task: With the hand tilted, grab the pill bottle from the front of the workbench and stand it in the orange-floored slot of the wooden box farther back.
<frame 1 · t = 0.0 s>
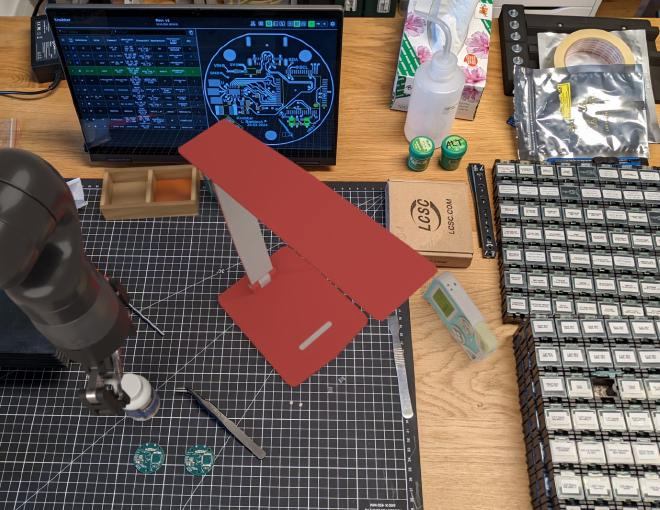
hand: (125, 367, 74), 27 cm above the table, tool pointing down, fingers open, 8 cm apart
pill bottle: (144, 405, 100), on the table
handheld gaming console: (453, 329, 107), on the table
wooden box: (154, 198, 119), on the table
puzzle: (227, 190, 121), on the table
desk lamp: (301, 323, 107), on the table
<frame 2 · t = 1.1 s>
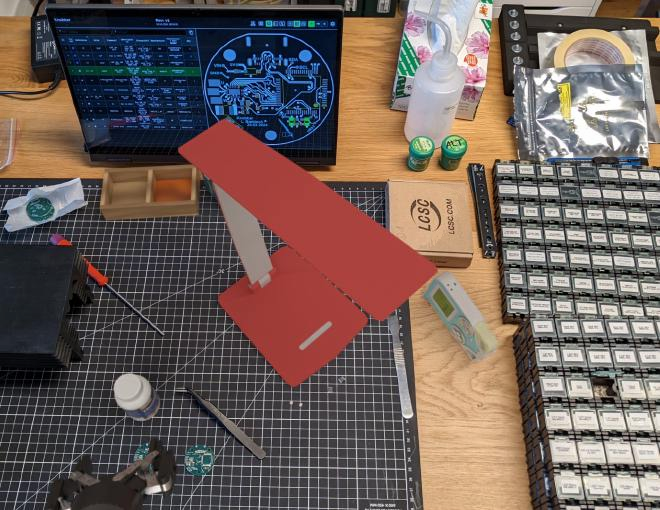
hand: (122, 452, 79), 17 cm above the table, tool tilted 45°, fingers open, 8 cm apart
nothing on the table moved.
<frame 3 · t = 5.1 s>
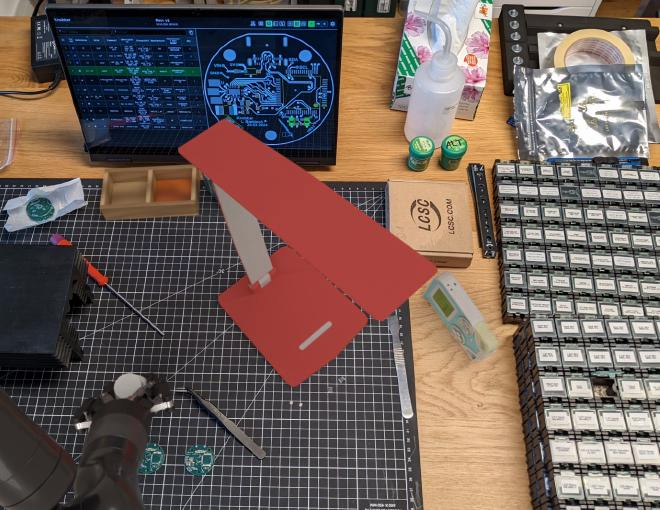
hand: (132, 382, 95), 6 cm above the table, tool tilted 45°, fingers closed on pill bottle, 5 cm apart
pill bottle: (144, 405, 100), on the table, touching gripper
everything else where it was.
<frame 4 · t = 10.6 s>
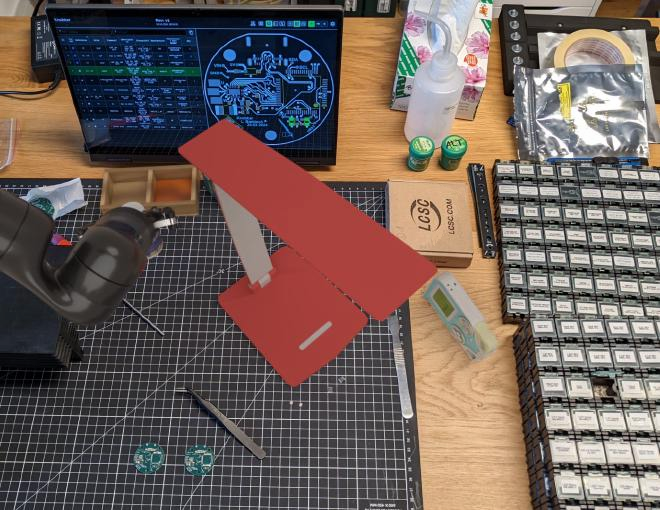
hand: (136, 216, 96), 18 cm above the table, tool tilted 45°, fingers closed on pill bottle, 5 cm apart
pill bottle: (147, 246, 101), point 12 cm above the table, touching gripper
everything else where it was.
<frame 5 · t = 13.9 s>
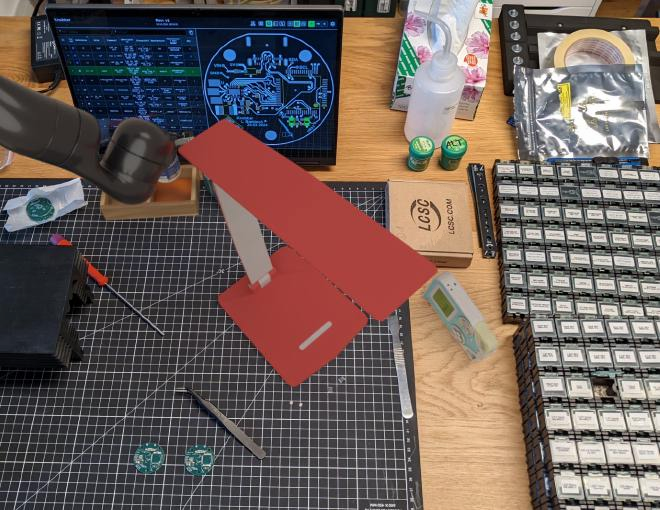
hand: (157, 142, 108), 14 cm above the table, tool tilted 45°, fingers closed on pill bottle, 5 cm apart
pill bottle: (167, 172, 113), point 8 cm above the table, touching gripper
everything else where it was.
when the fingers open (7 cm above the table, at t = 16.4 s): pill bottle stays where it is, resting on wooden box.
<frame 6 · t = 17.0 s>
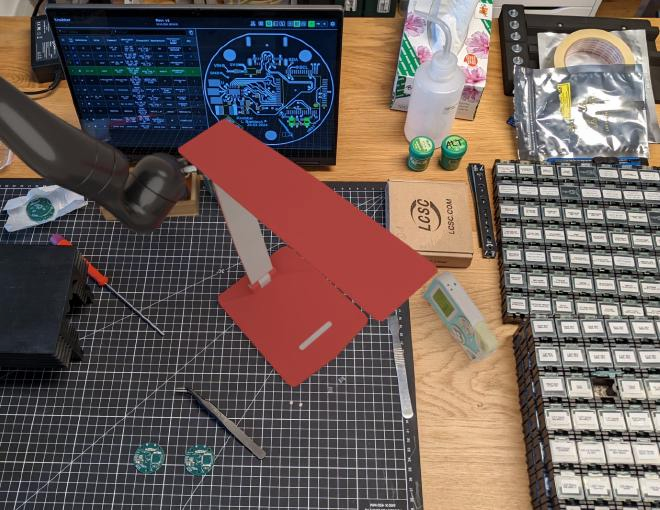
hand: (166, 167, 114), 8 cm above the table, tool tilted 45°, fingers open, 8 cm apart
pill bottle: (175, 196, 119), point 1 cm above the table, touching wooden box
everything else where it was.
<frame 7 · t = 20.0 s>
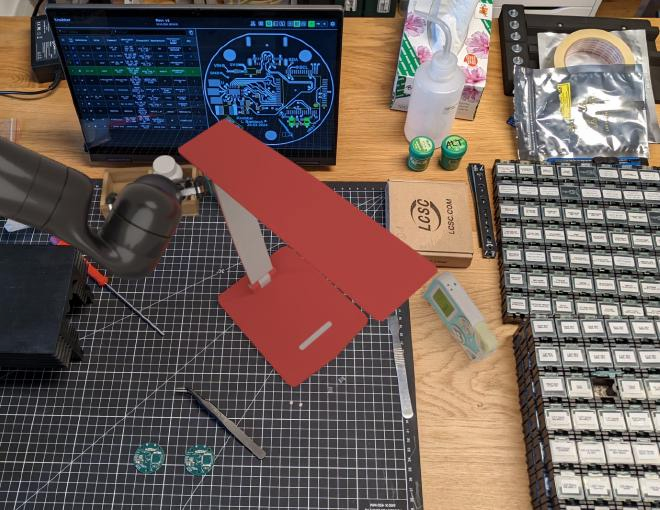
hand: (160, 188, 98), 18 cm above the table, tool tilted 45°, fingers open, 8 cm apart
nothing on the table moved.
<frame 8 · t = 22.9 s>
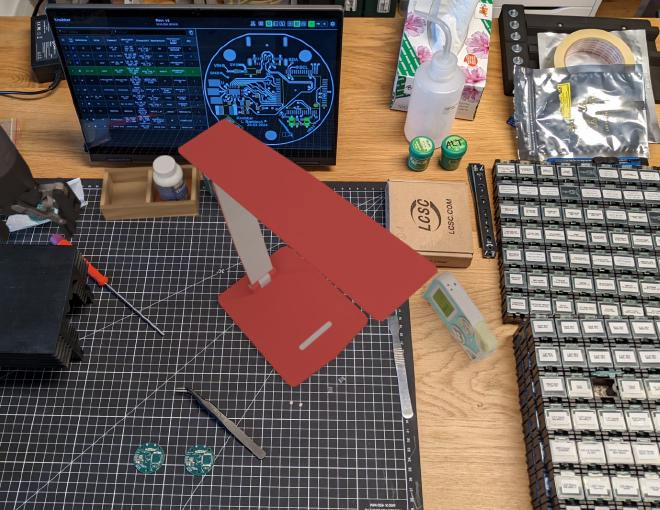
hand: (38, 234, 82), 28 cm above the table, tool pointing down, fingers open, 8 cm apart
nothing on the table moved.
at the end: pill bottle 0.2 cm from the target spot in the wooden box, point 0.5 cm above the wooden box's base; pill bottle tilted 0°; the gripper is holding nothing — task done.
